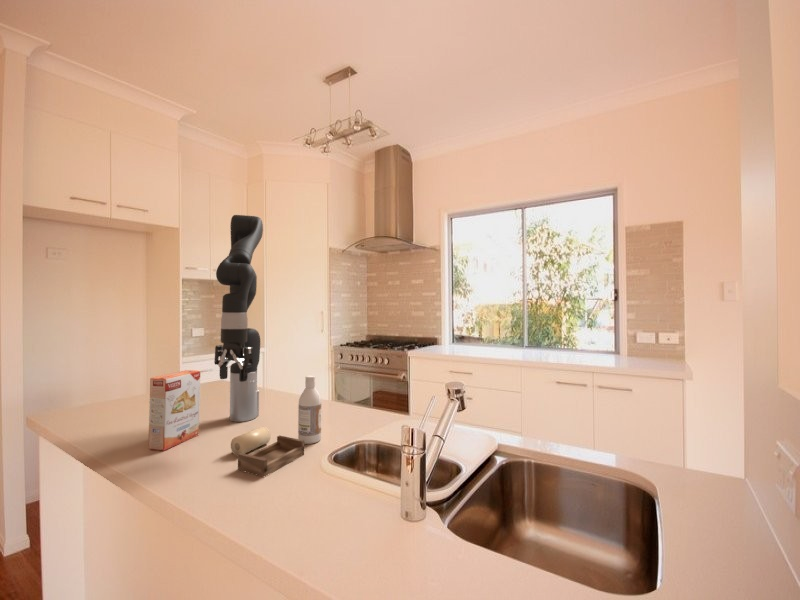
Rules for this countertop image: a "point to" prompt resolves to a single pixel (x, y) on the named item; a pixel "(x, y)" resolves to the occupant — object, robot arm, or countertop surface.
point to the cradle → (271, 456)
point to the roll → (250, 440)
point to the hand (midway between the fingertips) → (233, 380)
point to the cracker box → (173, 409)
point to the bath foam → (309, 413)
